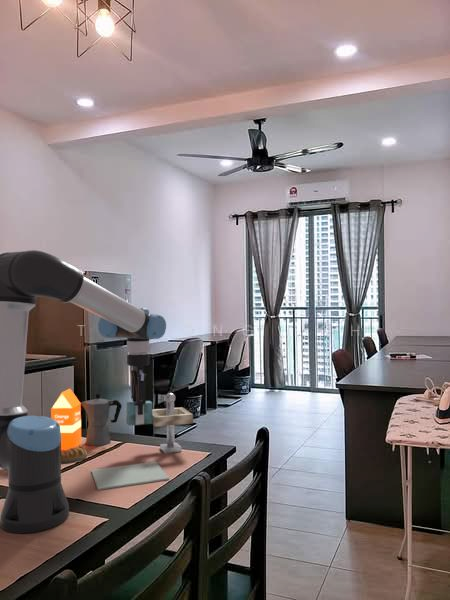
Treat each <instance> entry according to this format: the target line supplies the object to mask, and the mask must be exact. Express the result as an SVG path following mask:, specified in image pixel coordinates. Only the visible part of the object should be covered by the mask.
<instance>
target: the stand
mask: <svg viewBox="0 0 450 600" xmlns="http://www.w3.org/2000/svg"><path fill="white" fill-rule="evenodd" d="M164 400H165V402H166V408H167V415H174V408H175V401H176V394H174V393H172V392H168V393H167V394H165V397H164ZM159 445H160V446H159V448H160V450H161V451H162V452H163V453H164V454H171V453H179V452H182V451H183V450H182V448H183V447H182V446H181V445H180V444H179V442H176V441H175V425H169V426H166V443H160V444H159Z"/></svg>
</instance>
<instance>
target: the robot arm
mask: <svg viewBox="0 0 450 600" xmlns="http://www.w3.org/2000/svg"><path fill="white" fill-rule="evenodd" d="M39 297H40V298H49V299H53V300H56V301H58V302H60V303H62V304H66V303H71V304H73V305H75V306H76V307H80V308H81V309H83V310H85V311H87V312H89V313H91V314H93V315H96V316H98V317H99V320H98V322H97V329H98V333H99V334H100V336H101V337H103V339H105V338H106V339H117V338H121V339H126V352H127V353H128V354H127V355H126V359H127V360H126V364H127V366H131V367H132V370H131V371H130V374H131V379H130V380H131V400H132V401H131V402H136V403H135V404H134V405H136V425H135V426H140V425H139V424H143V425H145V424H144V404H145V403H146V401H147V400H146V398H147V396H146V395H147V394H146V393H147V391H146V390H147V389H146V387H147V386H146V383H147V374H146V370H145V369H144V366H145V367H146V366H149V365H150V354H149V353H150V347H151V346H152V343H151V342H150V340H158V339H161V338H163V337H164V335H165V333H166V331H167V330H166V329H167V322H166V319H165V317H164V316H162V315H161V314H157V313H152V314H151V313H150V310H149V309H148V308H146V307H145V308H144V307H141V308H140V307H138V306H136V305H134V304H132V303H130V302H128V301H127V300H125V299H123V298H122V297H120V296H118V295H117V294H115V293H113V292H111V291H110V290H107V288H104V287H103V286H101V285H99V284H97V283H96V282H94V281H92V280H90V279H89V278H87V277H85V276H84V272H83V271H82V270H81V269H79V267H78V268H77V267H76V266H74V265H72V264H71V263H69V262H67V261H66V260H63V259H61V258H59V257H57V256H55V255H53V254H50V253H48V252H45V251H41V250H25V251H14V252H13V251H12V252H9V251H8V252H3V253H2V252H1V253H0V469H3V470H7V471H8V472H7V473H8V474H7V475H8V480H7V481H8V491H7V494H6V497H5V499H4V502H3V506H2V509H1V512H0V527H1V529H2V530H4V531H5V532H7V533H8V532H9V533H14V534H31V533H32V534H33V533H37V532H42V531H45V530H49V529H52V528H54V527H57V526H58V525H60V524H62V523H64V522H65V521H66V520H67V519H68V518H69V515H70V506H69V502H68V501H69V500H68V498H67V496H66V493H65V490H64V487H63V484H62V462H61V453H62V450H61V439H62V438H61V432H60V425H59V423H58V422H57V421H56V420H54V419H52V418H51V417H48V416H45V415H40V416H37V415H28V409H27V407H25V406H24V405H23V394H24V379H25V378H24V377H25V370H26V369H25V367H26V355H27V340H28V339H27V338H28V328H29V313H30V311H31V310H32V309H33V308H35V307H36V303H37V301H36V300H37V298H39Z"/></svg>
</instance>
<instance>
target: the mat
mask: <svg viewBox="0 0 450 600" xmlns="http://www.w3.org/2000/svg"><path fill="white" fill-rule="evenodd" d="M90 472H91V474H92V477H93V480H94V482H95V485H96V488H97V491H102V490H107V489H108V490H110V489H114V488H123V487H128V486H135V485H143V484H149V483H155V482H162V481H163V482H165V481H169V480H170V477H169V475H167V474H166V472H165V471H164V470H163V468H162V467H161V466H160V465H159V463H158V462H157V461H150V462H141V463H133V464H126V465H118V466H111V467H103V468H102V467H101V468H97V469H95V468H94V469H91V471H90Z"/></svg>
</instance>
